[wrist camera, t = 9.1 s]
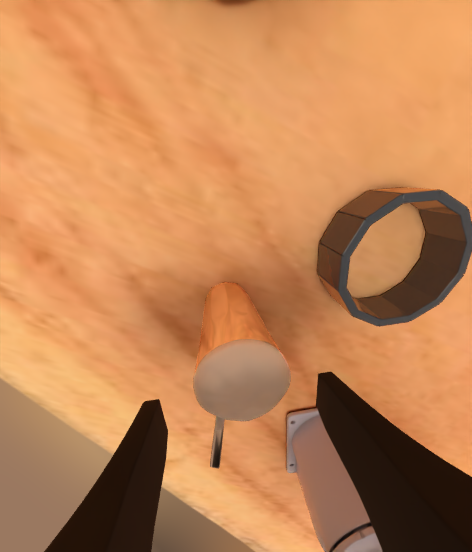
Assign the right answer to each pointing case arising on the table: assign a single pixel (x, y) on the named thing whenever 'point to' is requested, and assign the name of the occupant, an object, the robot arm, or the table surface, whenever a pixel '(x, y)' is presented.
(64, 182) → the table surface
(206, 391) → the milkshake
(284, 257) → the table surface
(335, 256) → the brown hollow ring
